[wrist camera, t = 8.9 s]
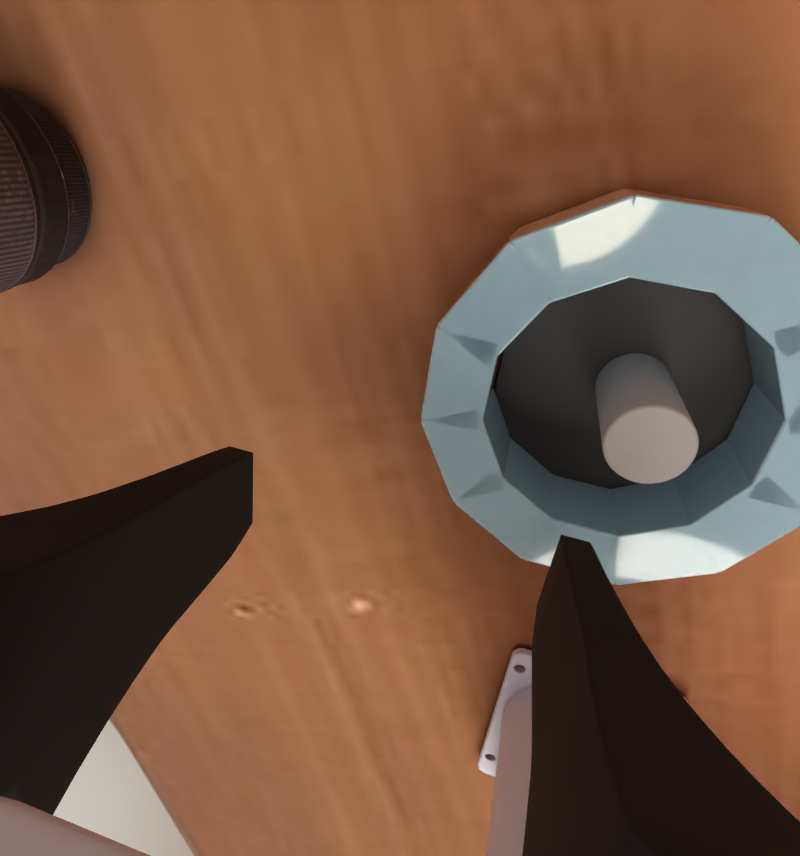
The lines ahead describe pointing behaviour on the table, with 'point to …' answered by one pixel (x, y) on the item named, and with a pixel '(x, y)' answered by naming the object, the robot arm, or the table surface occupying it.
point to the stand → (625, 382)
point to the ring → (641, 503)
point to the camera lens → (37, 191)
